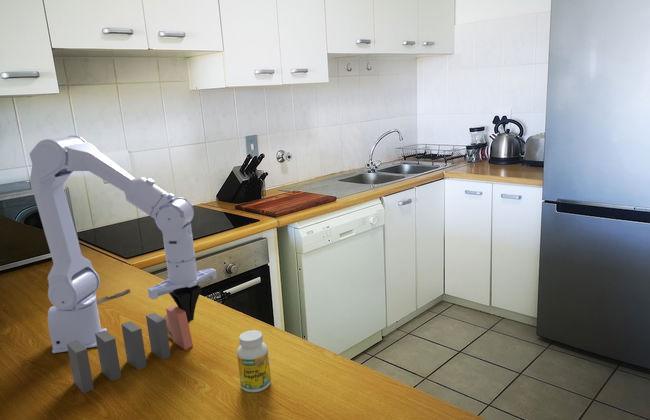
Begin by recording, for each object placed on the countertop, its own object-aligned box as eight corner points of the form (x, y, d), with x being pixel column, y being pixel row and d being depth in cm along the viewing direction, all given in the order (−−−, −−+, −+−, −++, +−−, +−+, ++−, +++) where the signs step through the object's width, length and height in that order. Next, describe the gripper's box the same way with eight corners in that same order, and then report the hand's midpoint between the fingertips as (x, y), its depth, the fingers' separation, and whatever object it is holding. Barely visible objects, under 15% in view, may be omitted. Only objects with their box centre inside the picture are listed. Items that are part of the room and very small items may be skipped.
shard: (175, 343, 105) (174, 336, 105) (141, 343, 106) (139, 336, 106) (193, 320, 116) (192, 313, 115) (161, 321, 117) (160, 313, 116)
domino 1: (83, 393, 88) (76, 352, 86) (74, 382, 92) (66, 343, 90) (94, 389, 89) (86, 348, 87) (84, 378, 93) (77, 340, 91)
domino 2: (111, 381, 91) (105, 342, 90) (101, 371, 95) (94, 333, 93) (121, 377, 93) (115, 338, 91) (111, 367, 96) (104, 330, 94)
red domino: (185, 349, 101) (177, 315, 99) (173, 342, 105) (165, 308, 103) (193, 345, 103) (185, 311, 100) (181, 338, 106) (173, 305, 104)
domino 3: (138, 370, 95) (132, 332, 93) (127, 361, 98) (121, 324, 96) (147, 366, 96) (141, 328, 94) (136, 357, 99) (130, 321, 98)
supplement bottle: (269, 374, 91) (264, 326, 89) (272, 390, 86) (268, 339, 84) (239, 379, 90) (234, 330, 88) (241, 395, 85) (236, 345, 83)
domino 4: (162, 359, 98) (157, 322, 96) (151, 351, 102) (145, 315, 100) (170, 356, 99) (165, 319, 97) (159, 348, 103) (154, 312, 101)
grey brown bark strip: (83, 304, 129) (88, 311, 125) (82, 300, 129) (87, 307, 125) (128, 290, 136) (135, 296, 132) (128, 287, 136) (134, 292, 132)
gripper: (156, 272, 93) (165, 338, 96) (221, 253, 103) (228, 313, 106) (139, 265, 98) (148, 327, 101) (203, 246, 108) (210, 304, 111)
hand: (188, 319), depth 104 cm, fingers closed
